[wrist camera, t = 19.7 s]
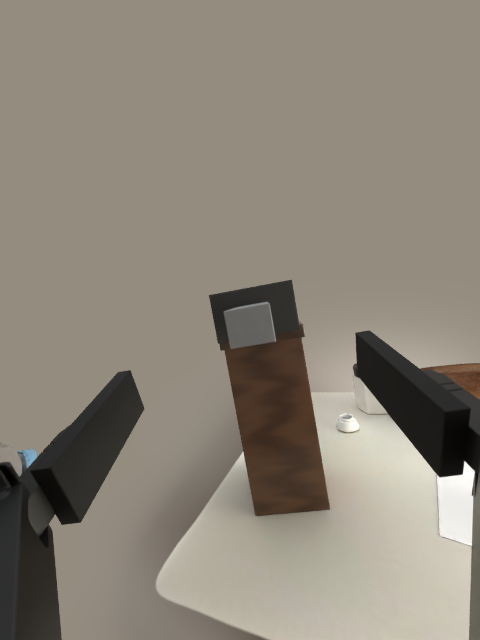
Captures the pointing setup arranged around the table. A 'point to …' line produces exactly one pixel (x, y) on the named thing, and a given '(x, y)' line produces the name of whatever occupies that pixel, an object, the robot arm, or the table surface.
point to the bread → (462, 376)
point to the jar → (366, 397)
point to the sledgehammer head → (254, 314)
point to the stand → (277, 425)
